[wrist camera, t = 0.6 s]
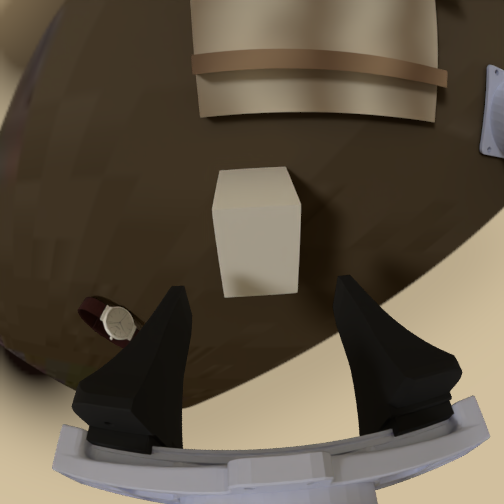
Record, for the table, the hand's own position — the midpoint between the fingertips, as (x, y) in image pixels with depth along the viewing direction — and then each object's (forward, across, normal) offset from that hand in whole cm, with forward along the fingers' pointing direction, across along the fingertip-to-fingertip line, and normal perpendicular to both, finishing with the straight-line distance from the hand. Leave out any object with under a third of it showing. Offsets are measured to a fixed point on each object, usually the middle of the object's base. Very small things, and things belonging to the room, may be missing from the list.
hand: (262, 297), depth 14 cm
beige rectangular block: (+9, 0, 0) cm, 9 cm away
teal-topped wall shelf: (+9, -5, -14) cm, 17 cm away
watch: (+10, +15, +11) cm, 21 cm away
